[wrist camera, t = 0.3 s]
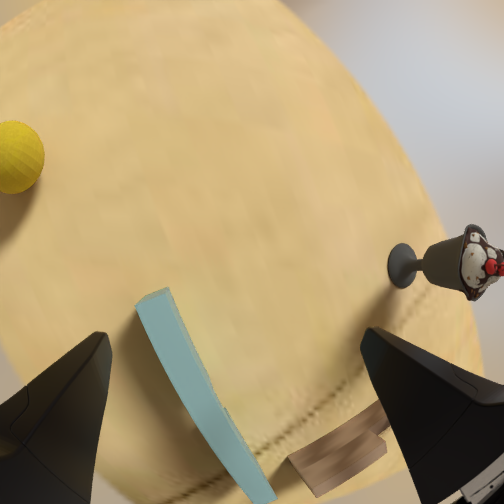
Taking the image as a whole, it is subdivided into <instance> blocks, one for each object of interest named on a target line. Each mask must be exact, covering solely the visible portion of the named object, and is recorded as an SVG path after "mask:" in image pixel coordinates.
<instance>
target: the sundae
mask: <svg viewBox="0 0 504 504" xmlns="http://www.w3.org/2000/svg"><path fill="white" fill-rule="evenodd" d="M388 269H389V274H390V277H391V280H392V281H393V283H394V284H395V285H396V286H398V287H400V288H405V287H407V286H409V285H410V284H411V283H412V282H413V280H414V278H415V276H416V273H417V271H423V273H424V275H425V276H426V278H427V280H428V281H429V282H430V283H432V284H435V285H437V286H440V287H444V288H449V289H454V290H458V291H461V292H463V293H464V294H465V295H466V297H467V300H469V301H471V300H472V301H476V300H478V299H479V298H480V297H481V296H482V295H483V293H484V292H485V290H486V288H488V286H490V284H493V283H495V282H497V281H498V280H499V278H500V277H501V276H504V251H503V250H501V249H498V248H497V247H495V246H493V245H490V244H488V242H487V240H486V236H485V233H484V231H483V230H482V229H481V228H480V227H479V226H476V225H474V224H470V225H468V226H467V227H466V228H465V232H464V234H463V235H461V236H459V237H456V238H452V239H449V240H445V241H441V242H439V243H436V244H434V245H432V246H430V247H429V248H428V249H427V251H426V253H425V254H424V257H423V259H418V260H417V258H416V255H415V252H414V251H413V249H412V248H411V247H410V246H409V245H407V244H404V243H401V244H398V245H396V246H395V247H394V248H393V250H392V252H391V254H390V257H389V262H388Z"/></svg>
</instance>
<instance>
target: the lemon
mask: <svg viewBox="0 0 504 504" xmlns="http://www.w3.org/2000/svg"><path fill="white" fill-rule="evenodd" d="M44 156H45V154H44V148H43V144H42V142H41V140H40V138H39V136H38V134H37V133H36V132H35V131H34V130H33V129H32V128H31V127H29V126H28V125H26V124H24V123H21V122H18V121H5V122H3V123H0V192H4V193H7V194H16V193H20V192H23V191H25V190H27V189H28V188H30V187H31V186H32V185H33V184H34V183H35V182H36V180H37V179H38V177H39V176H40V174H41V171H42V169H43V165H44Z"/></svg>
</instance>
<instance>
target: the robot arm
mask: <svg viewBox="0 0 504 504" xmlns="http://www.w3.org/2000/svg"><path fill="white" fill-rule="evenodd" d="M360 351H361V354H362V356H363V359H364V362H365V365H366V368H367V371H368V374H369V377H370V380H371V382H372V385H373V387H374V389H375V391H376V394H377V396H378V398H379V400H380V402H381V405H382V407H383V409H384V411H385V414H386V416H387V418H388V421H389V423H390V425H391V427H392V430H393V432H394V435H395V437H396V439H397V442H398V444H399V446H400V449H401V451H402V454H403V456H404V459H405V461H406V464H407V466H408V469H409V472H410V474H411V477H412V479H413V482H414V484H415V487H416V490H417V493H418V496H419V498H420V501H421V504H438V503H440V502H441V501H443V500H444V499H446V498H447V497H449V496H450V495H452V494H453V493H455V492H456V491H458V490H460V492H461V493H462V496H461V497H460V498H458V499H457V500H456V501H454V502H453V503H452V504H504V385H501V384H498V383H496V382H493V381H490V380H487V379H485V378H483V377H480V376H478V375H475V374H473V373H471V372H468V371H466V370H464V369H462V368H460V367H458V366H456V365H454V364H452V363H451V364H450V363H449V362H447V361H445V360H443V359H441V358H439V357H437V356H435V355H433V354H431V353H429V352H427V351H425V350H423V349H421V348H419V347H417V346H415V345H413V344H411V343H409V342H407V341H405V340H403V339H401V338H399V337H397V336H395V335H393V334H391V333H389V332H387V331H385V330H383V329H381V328H380V327H377V326H375V327H369V328H367V329H366V331H365V333H364V336H363V339H362V341H361V344H360ZM111 363H112V349H111V346H110V342H109V338H108V335H107V333H105V332H98V331H96V332H94V333H92V334H91V335H90V336H88V337H87V338H86V339H84V340H83V341H82V342H80V343H79V344H78V345H76V346H75V347H74V348H73V349H71V350H70V351H69V352H67V353H66V354H65V355H64V356H62V357H61V358H60V359H58V360H57V361H56V362H55V363H53V364H52V365H51V366H50V367H48V368H47V369H46V370H44V371H43V372H42V373H41V374H39V375H38V376H37V377H36V378H34V379H33V380H32V381H31V382H29V383H28V384H27V386H24V387H23V388H22V389H21V390H20V391H18V392H17V393H16V394H15V395H13V396H12V397H11V398H9V399H8V400H7V401H5V402H4V403H2V404H1V405H0V504H90V501H91V491H92V481H93V473H94V466H95V459H96V453H97V447H98V441H99V435H100V430H101V425H102V420H103V415H104V410H105V406H106V401H107V396H108V387H109V379H110V371H111Z"/></svg>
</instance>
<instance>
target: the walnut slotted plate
mask: <svg viewBox="0 0 504 504" xmlns="http://www.w3.org/2000/svg"><path fill="white" fill-rule="evenodd" d="M389 426H390V423H389V421H388V418H387V416H386V414H385V411H384V409H383V407H382V405H381V402H380V400H377V401H376V402H375V403H373V404H372V405H371V406H369V407H368V408H366V409H365V410H364V411H362V412H361V413H359V414H358V415H356V416H355V417H353V418H352V419H350V420H349V421H347V422H346V423H344V424H343V425H341V426H340V427H338V428H337V429H335V430H333V431H332V432H330V433H328V434H327V435H325V436H323V437H322V438H320V439H318V440H317V441H315V442H313V443H311V444H309V445H308V446H306V447H304V448H302V449H300V450H298V451H296V452H295V453H293V454H291V455H289V456H288V458H289V460H290V462H291V464H292V466H293V467H294V469H295V470H296V471H297V473H298V474H299V475H300V477H301V478H302V480H303V481H304V482H305V484H306V485H307V486H308V488H309V489H310V490H311V491H312V493H313V494H314V495H315V497H316V498H318V497H320V496H322V495H323V494H325V493H327V492H329V491H330V490H332V489H334V488H336V487H337V486H339V485H341V484H342V483H344V482H345V481H347V480H349V479H350V478H352V477H353V476H355V475H356V474H358V473H359V472H361V471H362V470H364V469H365V468H367V467H368V466H369V465H371V464H372V463H374V462H375V461H376V460H378V459H379V458H380V457H382V456H383V455H384V454H386V453H387V447H386V441H384V440H383V439H382V438H380V437H379V436H377V435H378V434H380V433H381V432H382V431H384V430H385V429H386V428H388V427H389Z"/></svg>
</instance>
